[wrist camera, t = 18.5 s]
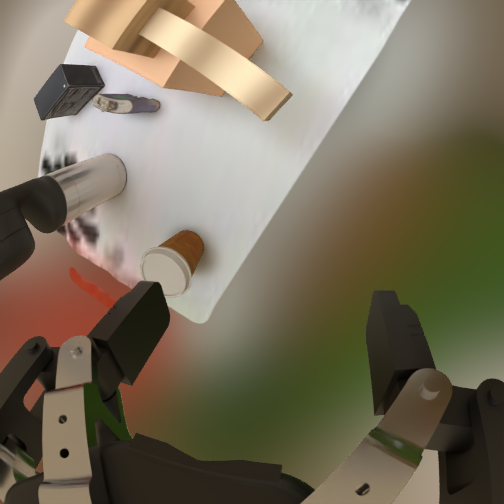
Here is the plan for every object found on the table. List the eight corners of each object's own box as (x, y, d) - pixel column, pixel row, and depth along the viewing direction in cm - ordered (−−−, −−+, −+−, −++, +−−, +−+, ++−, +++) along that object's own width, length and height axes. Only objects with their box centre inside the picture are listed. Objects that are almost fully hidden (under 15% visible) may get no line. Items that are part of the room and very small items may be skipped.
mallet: (308, 81, 21) (308, 68, 15) (258, 135, 24) (239, 142, 18) (140, -18, 17) (103, -36, 11) (105, 29, 20) (63, 21, 14)
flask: (161, 100, 43) (127, 100, 33) (157, 115, 44) (122, 119, 35) (123, 92, 43) (85, 93, 33) (119, 106, 44) (82, 110, 35)
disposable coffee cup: (197, 274, 58) (173, 309, 48) (160, 246, 57) (130, 276, 46) (220, 242, 53) (198, 276, 43) (181, 212, 52) (150, 239, 42)
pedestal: (263, 40, 35) (229, -6, 18) (221, 96, 41) (162, 87, 23) (197, 8, 33) (135, -33, 16) (160, 61, 39) (83, 47, 22)
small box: (95, 63, 40) (59, 61, 31) (105, 85, 42) (69, 86, 33) (66, 94, 44) (32, 98, 35) (75, 115, 46) (40, 122, 37)
